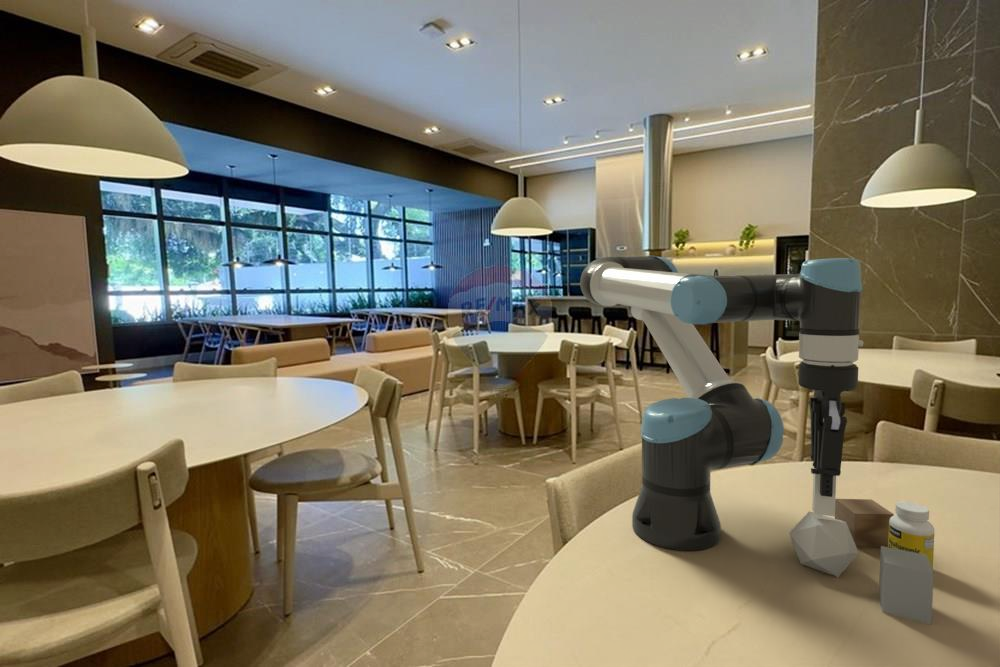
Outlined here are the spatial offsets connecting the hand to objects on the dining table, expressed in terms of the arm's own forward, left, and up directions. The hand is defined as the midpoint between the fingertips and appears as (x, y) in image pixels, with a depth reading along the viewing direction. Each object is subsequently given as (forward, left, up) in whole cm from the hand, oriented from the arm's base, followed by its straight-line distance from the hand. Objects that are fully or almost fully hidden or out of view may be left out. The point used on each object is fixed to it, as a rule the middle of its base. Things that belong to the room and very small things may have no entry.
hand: (823, 513), depth 78 cm
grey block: (+8, -8, -9) cm, 14 cm away
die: (0, 0, -9) cm, 9 cm away
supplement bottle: (+12, +4, -9) cm, 16 cm away
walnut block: (+8, +12, -9) cm, 17 cm away
